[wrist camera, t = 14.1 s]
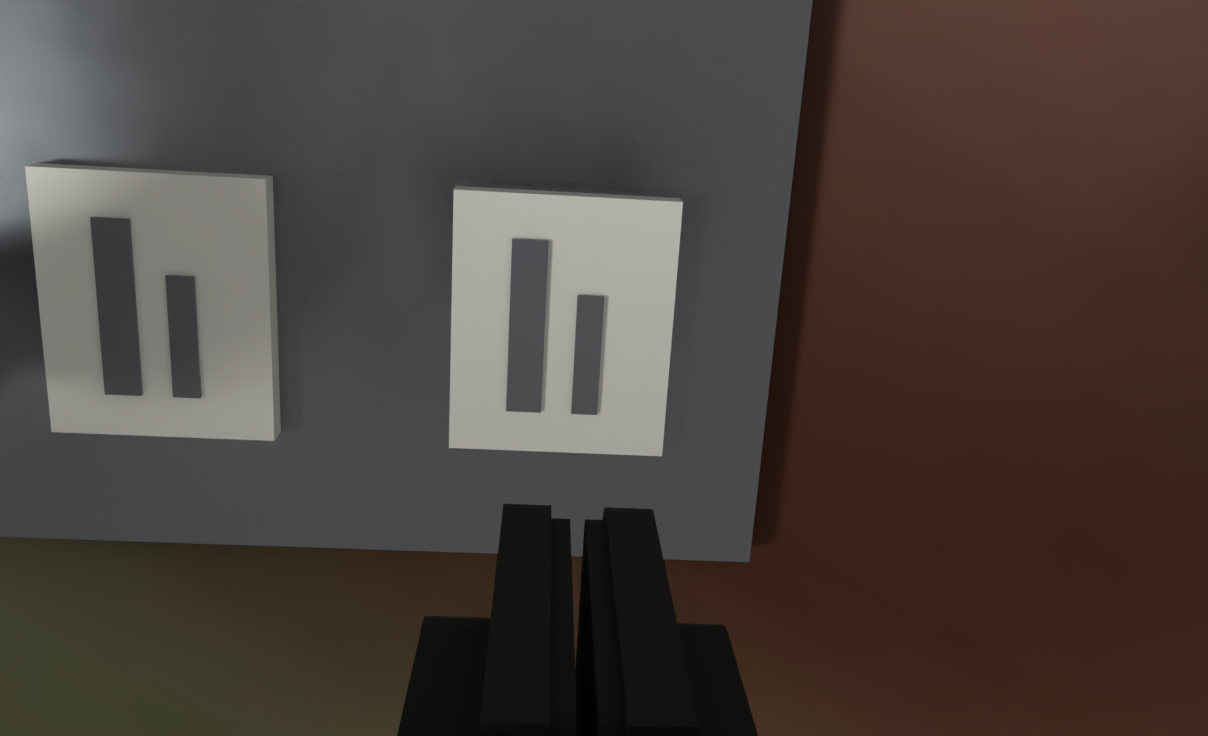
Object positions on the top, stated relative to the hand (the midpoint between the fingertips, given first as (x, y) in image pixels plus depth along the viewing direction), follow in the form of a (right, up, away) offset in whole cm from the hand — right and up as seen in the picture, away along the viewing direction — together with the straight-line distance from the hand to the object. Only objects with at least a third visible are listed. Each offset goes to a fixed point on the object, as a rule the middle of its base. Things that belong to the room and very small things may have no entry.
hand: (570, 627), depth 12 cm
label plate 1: (-10, +5, +13) cm, 17 cm away
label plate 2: (-1, +4, +13) cm, 14 cm away
